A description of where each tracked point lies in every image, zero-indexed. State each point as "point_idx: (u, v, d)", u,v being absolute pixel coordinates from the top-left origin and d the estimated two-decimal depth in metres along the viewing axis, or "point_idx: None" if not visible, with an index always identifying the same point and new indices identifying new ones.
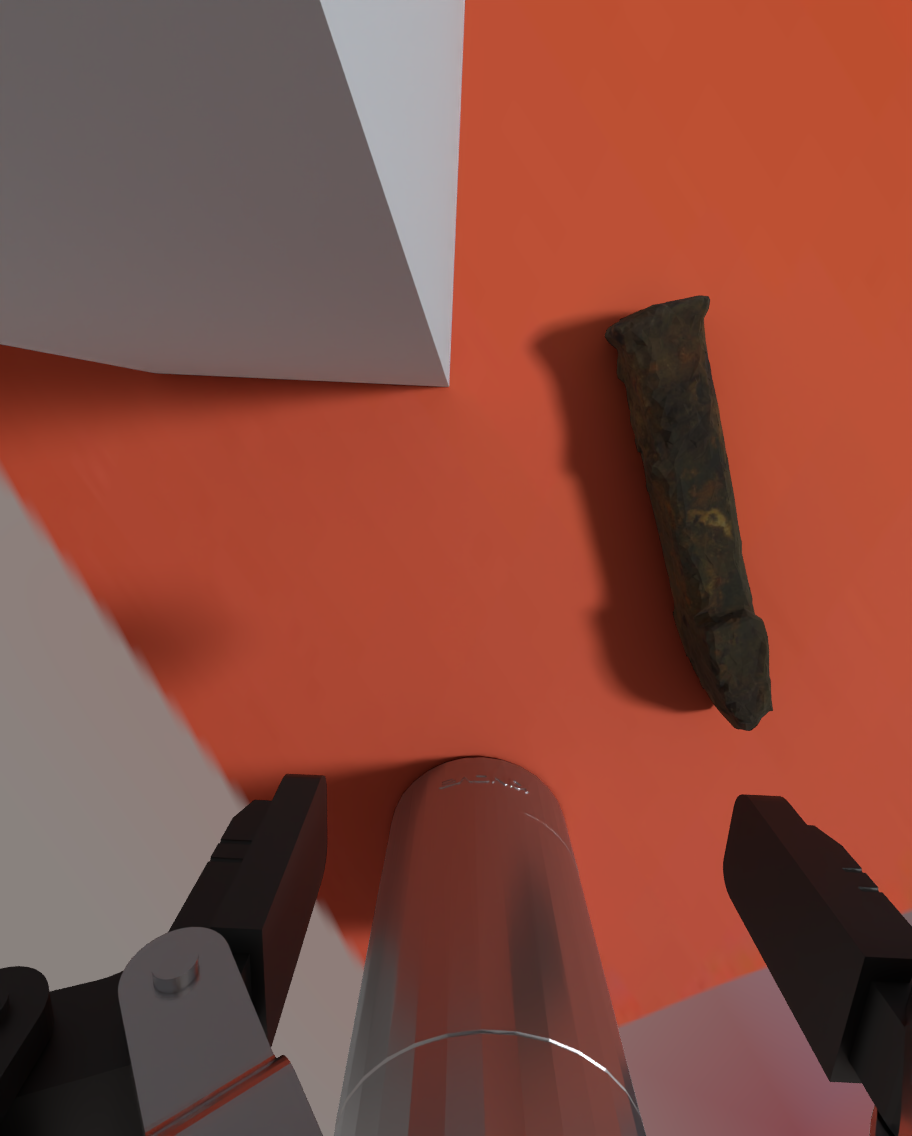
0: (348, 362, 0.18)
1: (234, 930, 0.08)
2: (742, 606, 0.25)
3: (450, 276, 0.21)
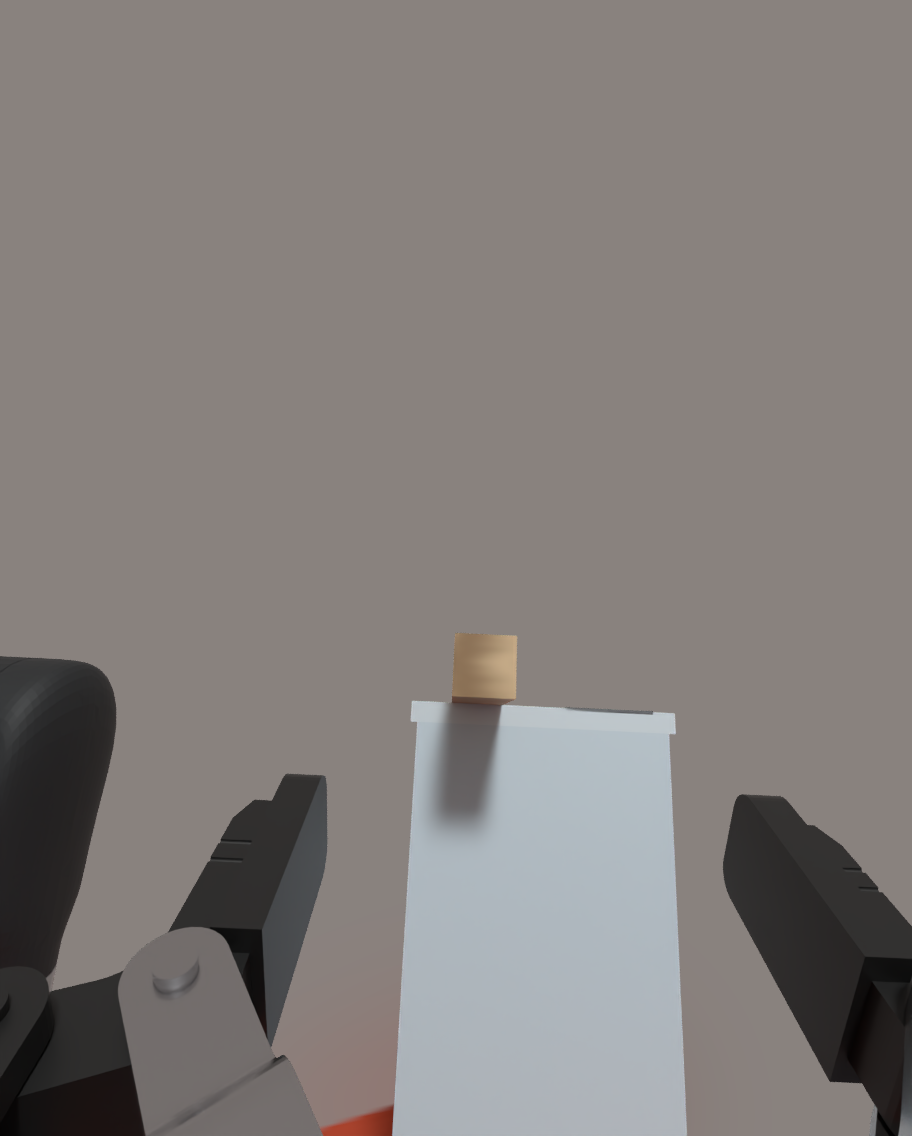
0: None
1: (234, 930, 0.08)
2: None
3: None
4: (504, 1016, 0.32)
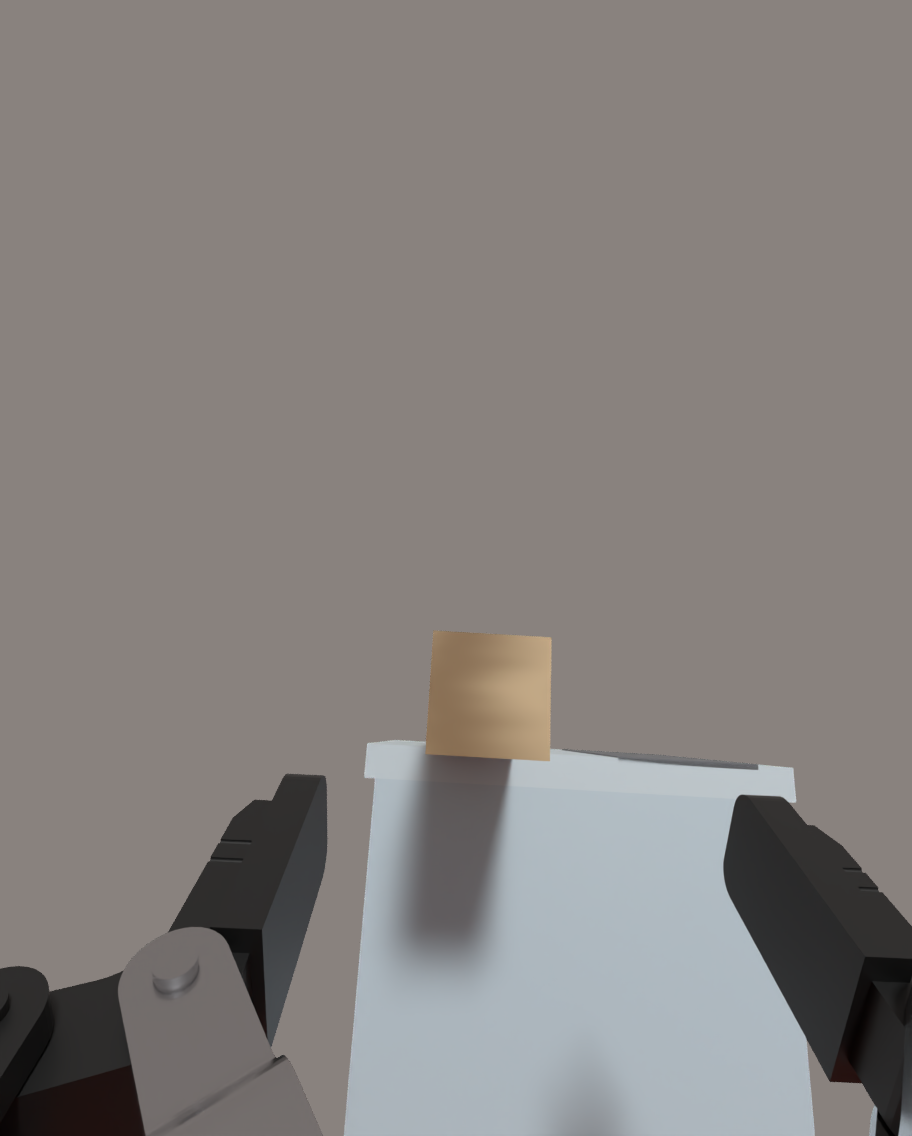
0: None
1: (234, 930, 0.08)
2: None
3: None
4: None
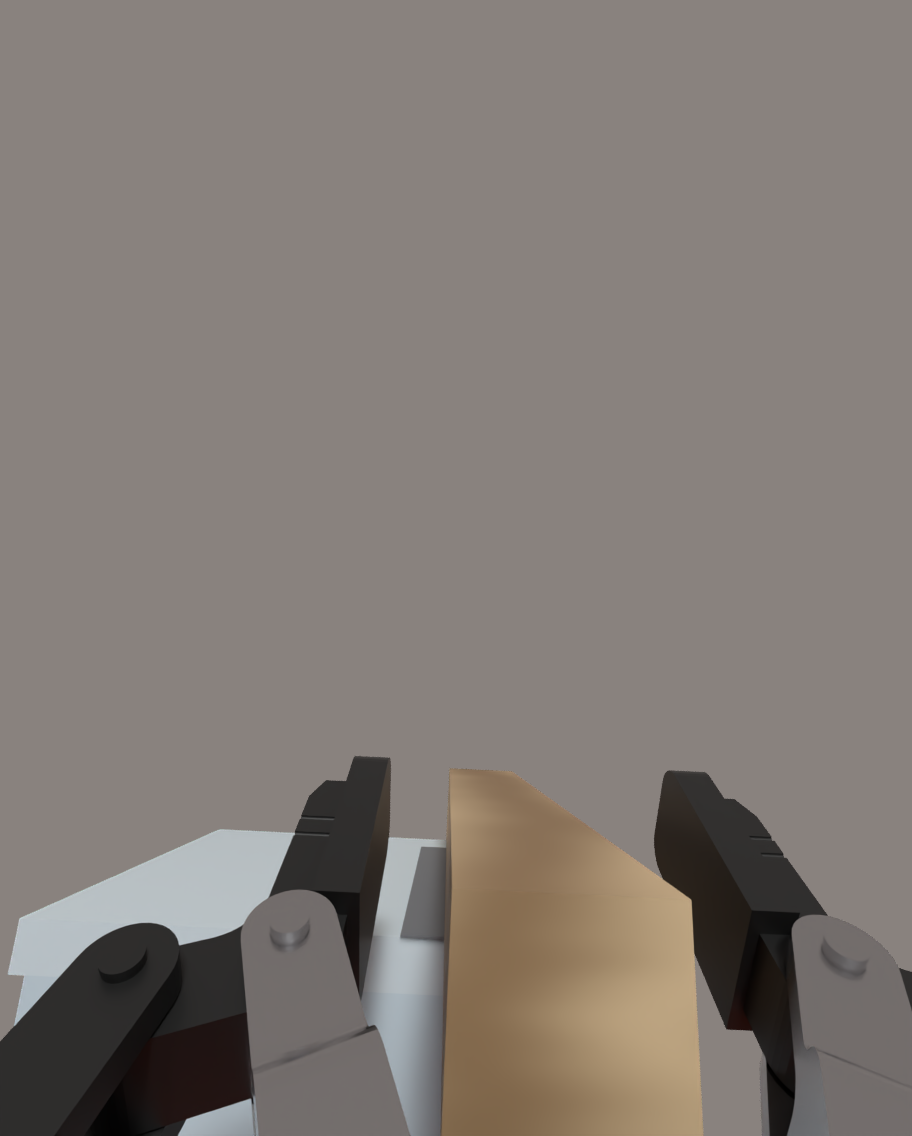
0: None
1: (333, 893, 0.08)
2: None
3: None
4: None
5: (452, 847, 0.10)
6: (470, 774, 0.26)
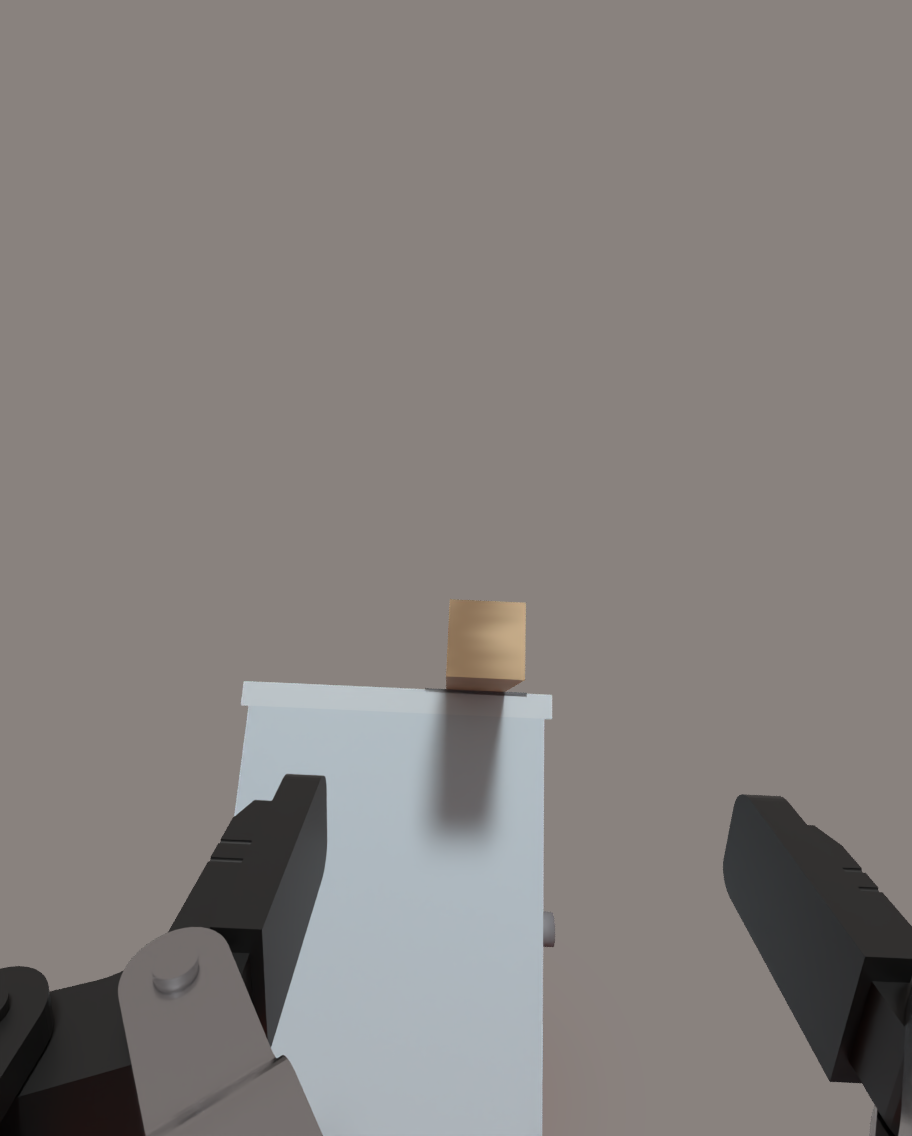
0: None
1: (234, 930, 0.08)
2: None
3: None
4: (329, 1056, 0.26)
5: None
6: None
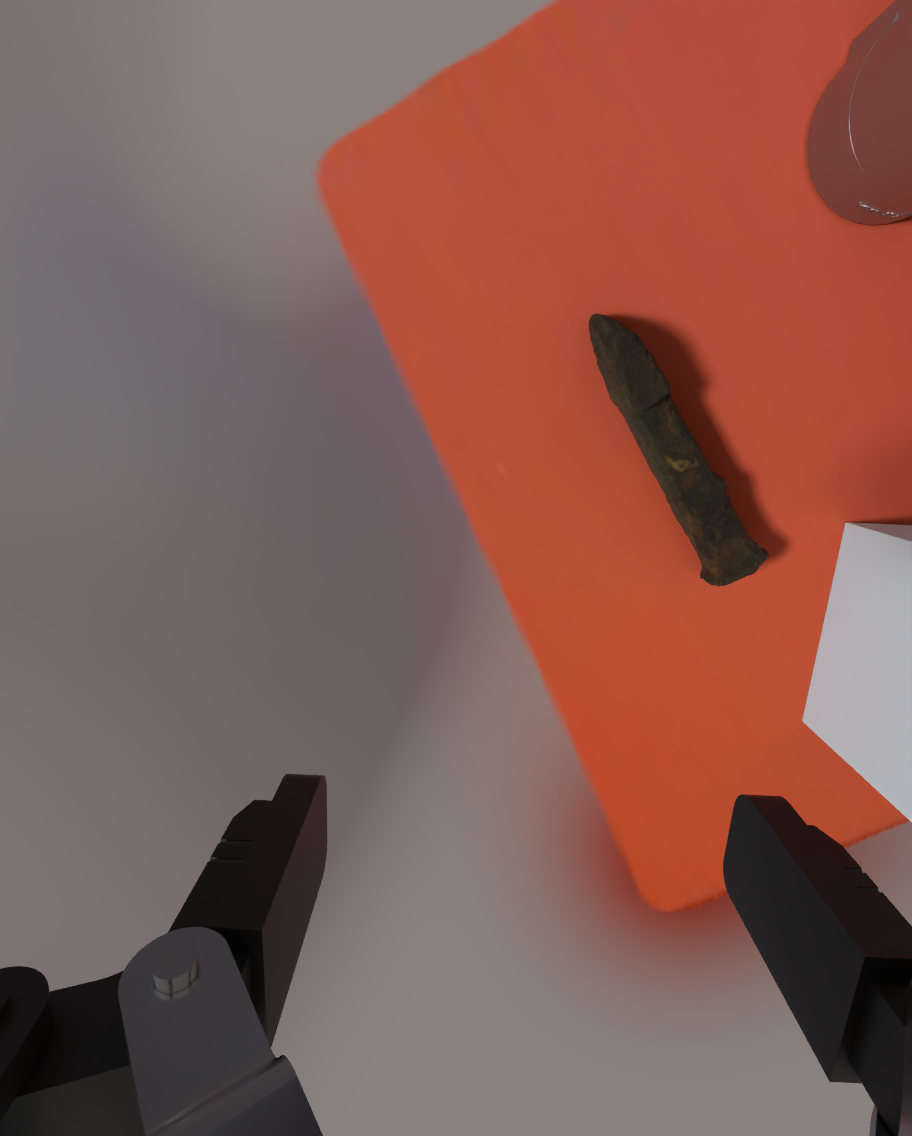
0: None
1: (234, 930, 0.08)
2: (643, 413, 0.35)
3: (874, 590, 0.37)
4: None
5: None
6: None
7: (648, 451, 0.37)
